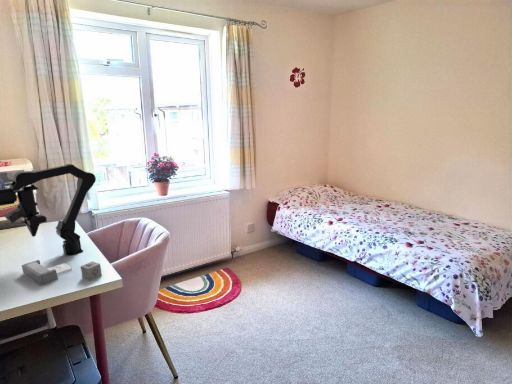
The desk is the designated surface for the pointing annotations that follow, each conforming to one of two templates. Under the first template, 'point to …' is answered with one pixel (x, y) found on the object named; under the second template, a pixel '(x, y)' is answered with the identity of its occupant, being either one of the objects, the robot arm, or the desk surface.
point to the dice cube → (91, 271)
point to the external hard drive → (61, 268)
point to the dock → (39, 273)
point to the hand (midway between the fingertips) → (33, 236)
